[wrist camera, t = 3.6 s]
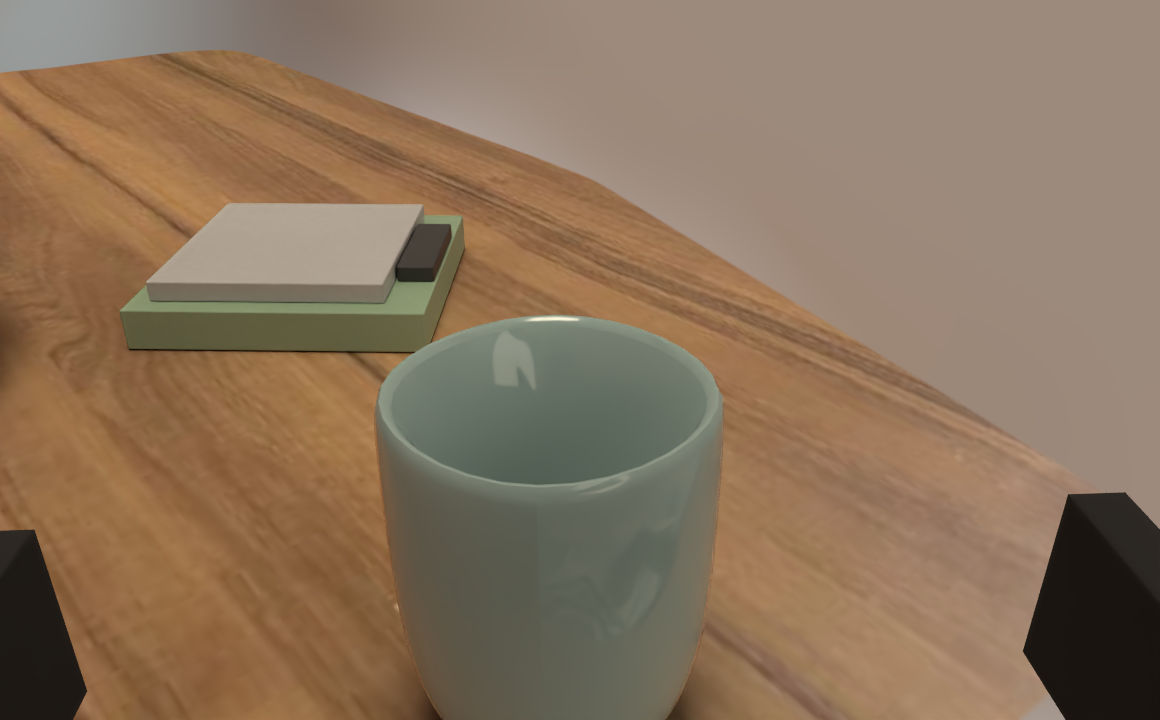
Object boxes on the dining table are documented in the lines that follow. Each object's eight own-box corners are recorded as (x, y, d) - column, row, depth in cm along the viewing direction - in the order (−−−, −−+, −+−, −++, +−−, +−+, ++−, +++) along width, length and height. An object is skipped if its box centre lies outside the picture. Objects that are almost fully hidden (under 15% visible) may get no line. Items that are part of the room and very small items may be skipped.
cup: (757, 709, 27) (794, 391, 22) (542, 896, 22) (530, 543, 17) (565, 570, 32) (561, 288, 27) (356, 699, 27) (307, 384, 22)
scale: (465, 248, 56) (461, 198, 55) (427, 352, 45) (422, 293, 44) (225, 246, 57) (216, 196, 55) (128, 349, 45) (113, 290, 44)
